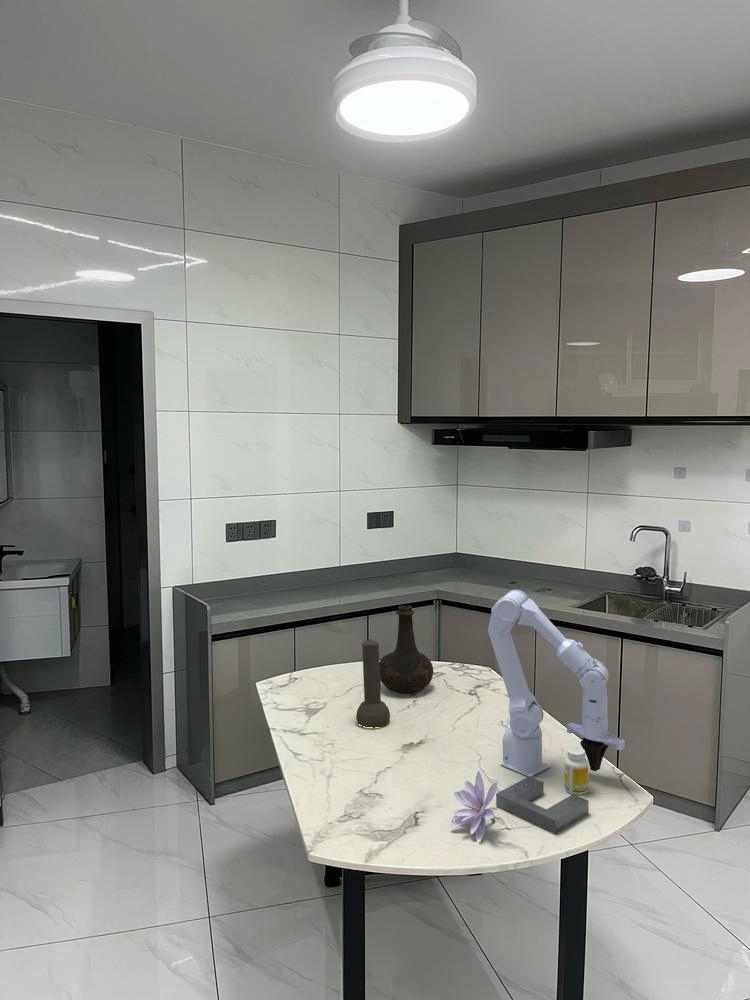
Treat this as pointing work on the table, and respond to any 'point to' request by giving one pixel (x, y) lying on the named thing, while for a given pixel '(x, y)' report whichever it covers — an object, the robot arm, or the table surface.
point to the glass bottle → (405, 660)
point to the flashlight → (372, 689)
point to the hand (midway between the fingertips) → (595, 769)
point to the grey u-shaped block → (549, 819)
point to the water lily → (474, 806)
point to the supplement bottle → (576, 771)
